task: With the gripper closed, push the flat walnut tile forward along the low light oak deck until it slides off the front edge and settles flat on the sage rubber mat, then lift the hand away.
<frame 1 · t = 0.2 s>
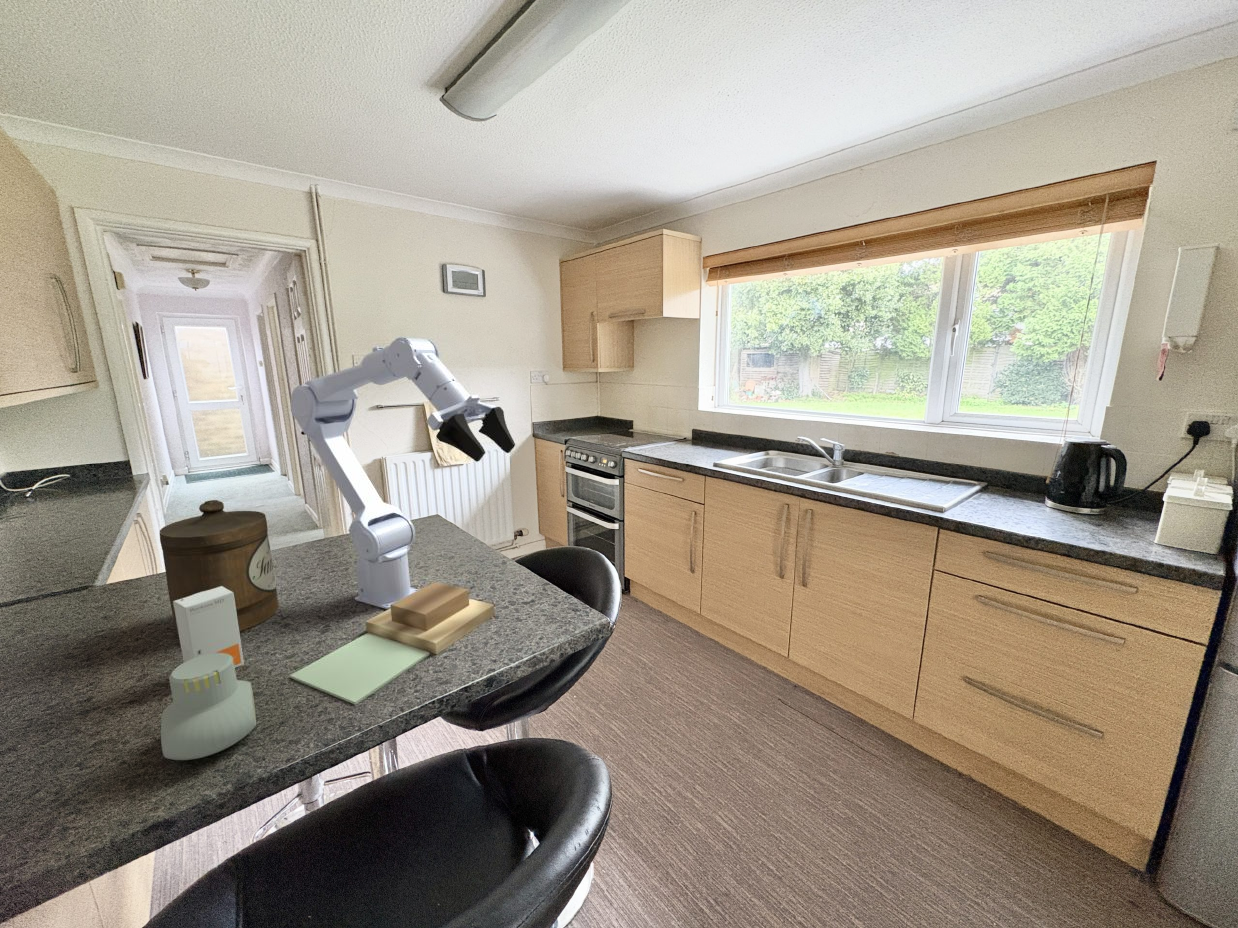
hand: (496, 452, 81), 31 cm above the worktop, tool tilted 45°, fingers open, 7 cm apart
skincare box: (216, 671, 75), on the worktop
oak deck: (432, 623, 88), on the worktop
walnut tile: (431, 612, 88), point 2 cm above the worktop, touching oak deck
sage mat: (362, 665, 76), on the worktop
air freshener: (215, 740, 61), on the worktop
wooden container: (230, 619, 90), on the worktop
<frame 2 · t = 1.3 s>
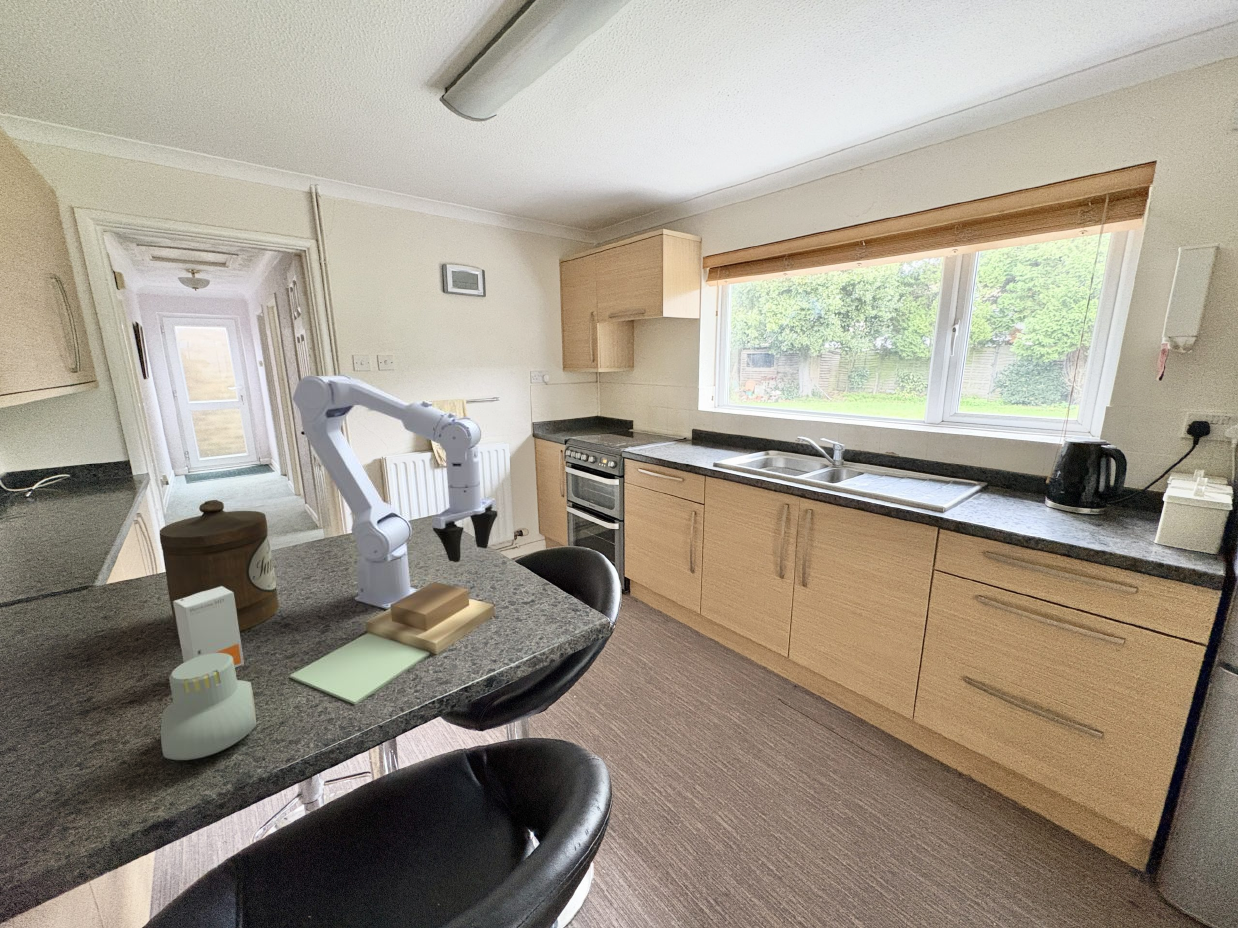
hand: (468, 553, 95), 9 cm above the worktop, tool pointing down, fingers open, 7 cm apart
nothing on the worktop moved.
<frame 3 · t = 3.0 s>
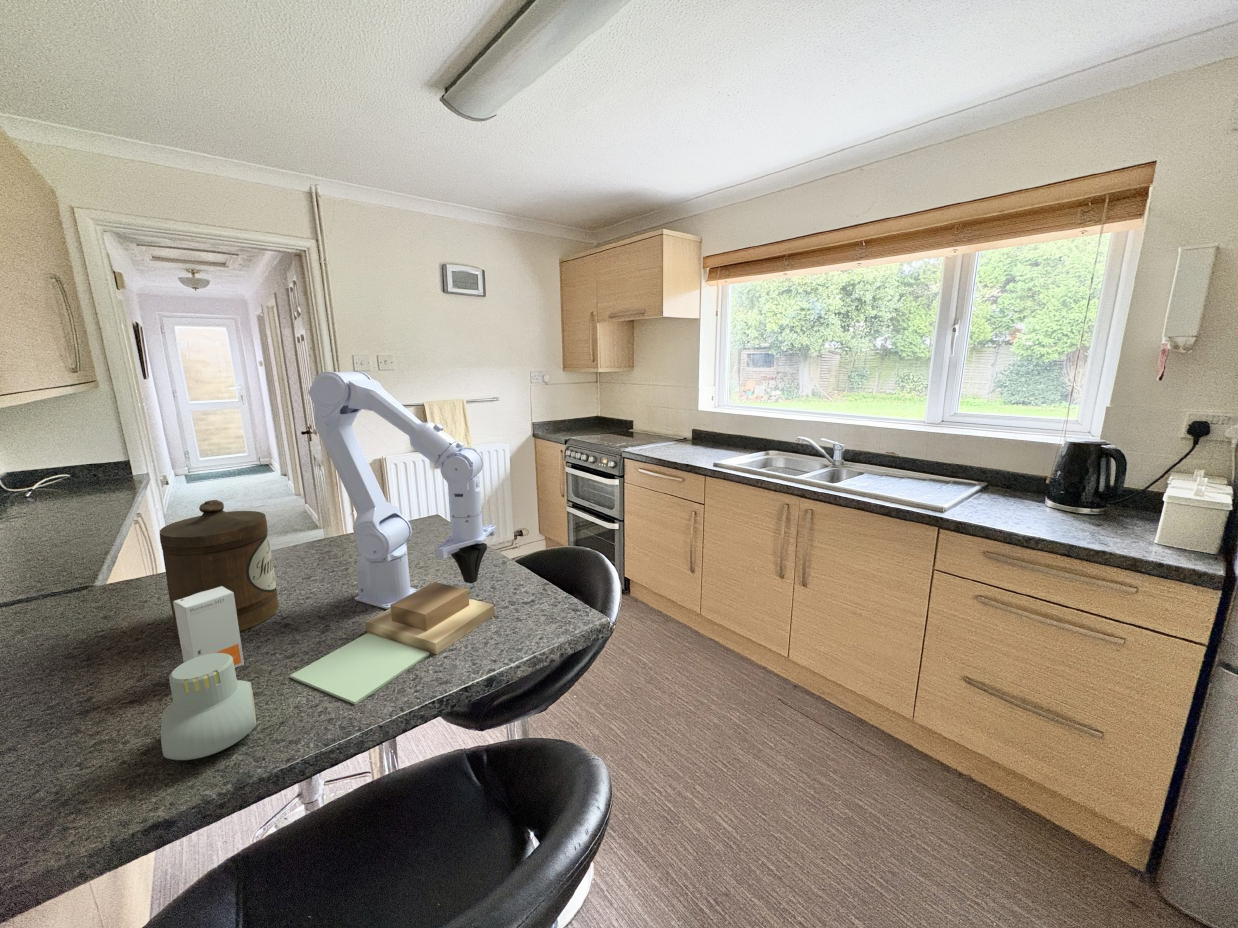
hand: (470, 581, 96), 4 cm above the worktop, tool pointing down, fingers closed
nothing on the worktop moved.
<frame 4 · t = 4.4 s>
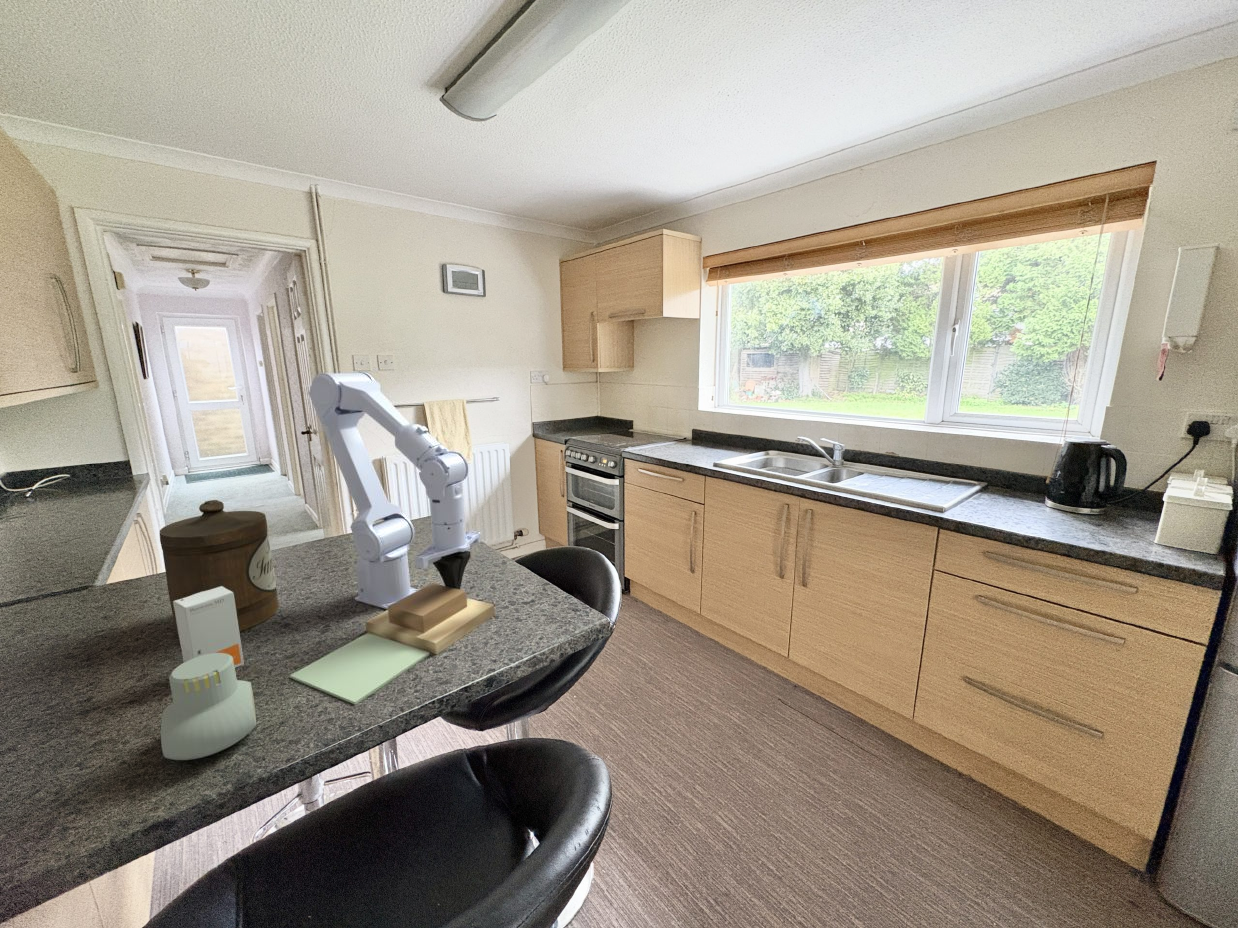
hand: (453, 590, 92), 4 cm above the worktop, tool pointing down, fingers closed
walnut tile: (429, 614, 87), point 2 cm above the worktop, touching gripper
everything else where it was.
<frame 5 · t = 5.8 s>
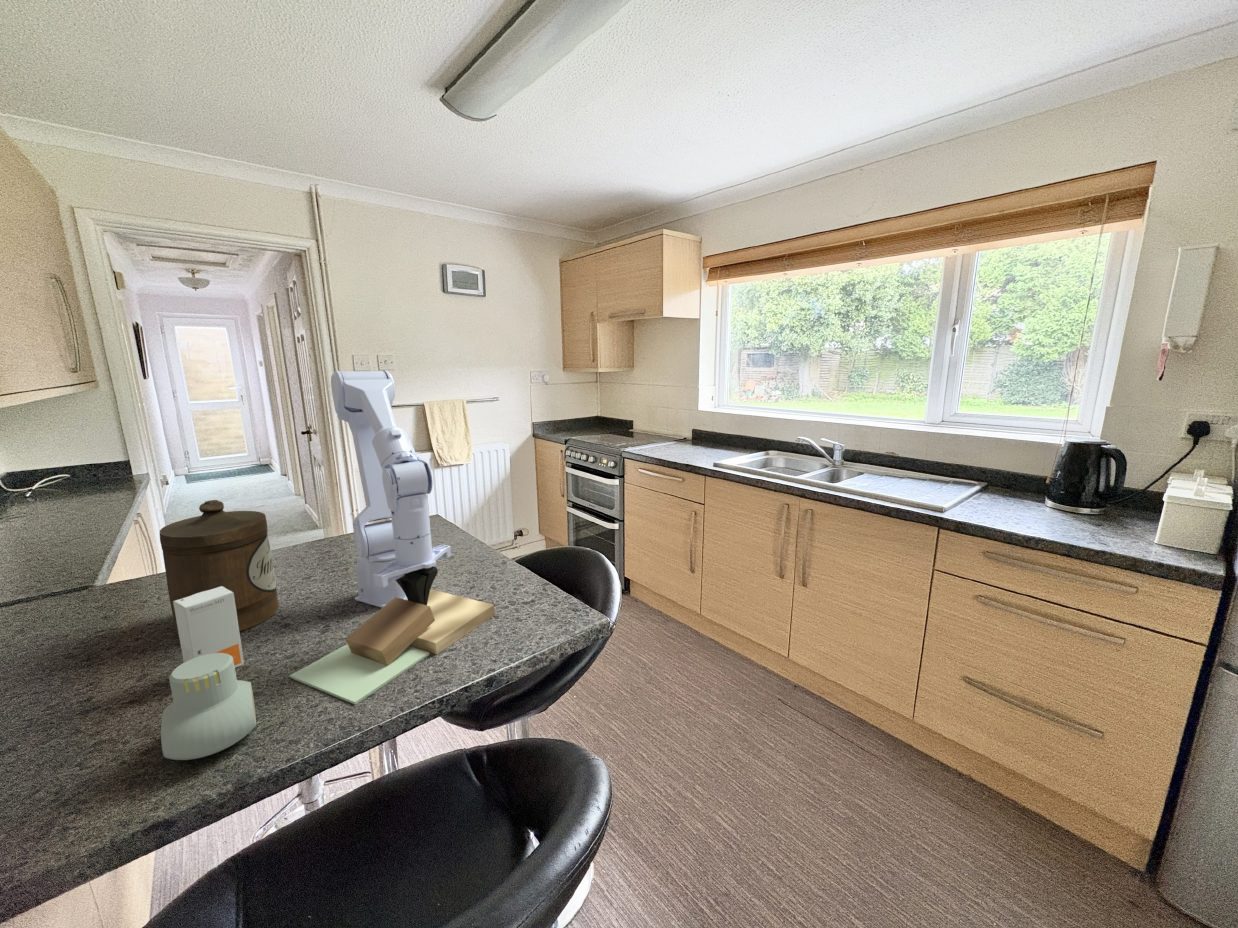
hand: (419, 609, 85), 4 cm above the worktop, tool pointing down, fingers closed
walnut tile: (394, 636, 80), point 2 cm above the worktop, tilted 15°, touching gripper, sage mat
everything else where it was.
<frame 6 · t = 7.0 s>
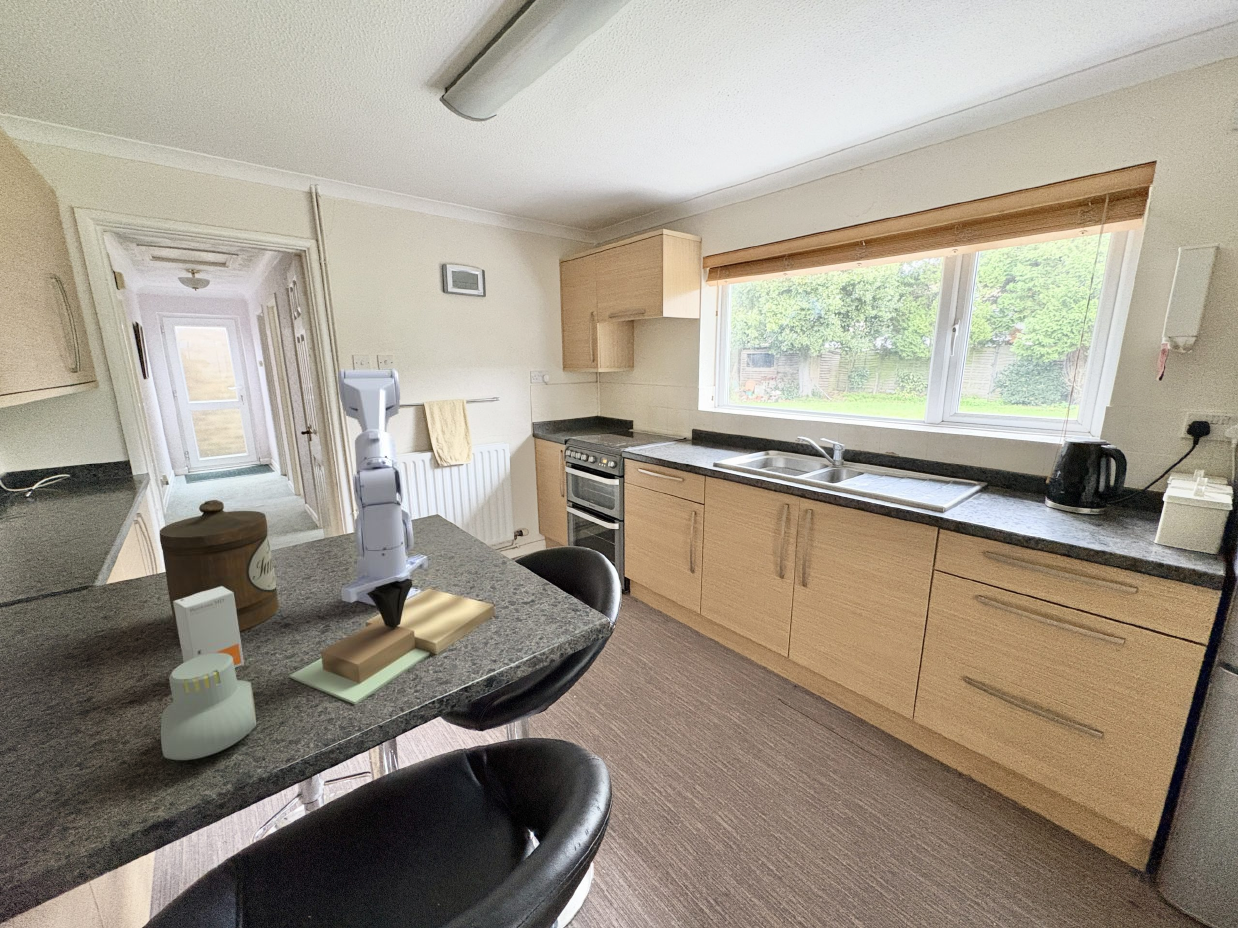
hand: (392, 624, 80), 4 cm above the worktop, tool pointing down, fingers closed
walnut tile: (371, 658, 77), resting on sage mat
everything else where it was.
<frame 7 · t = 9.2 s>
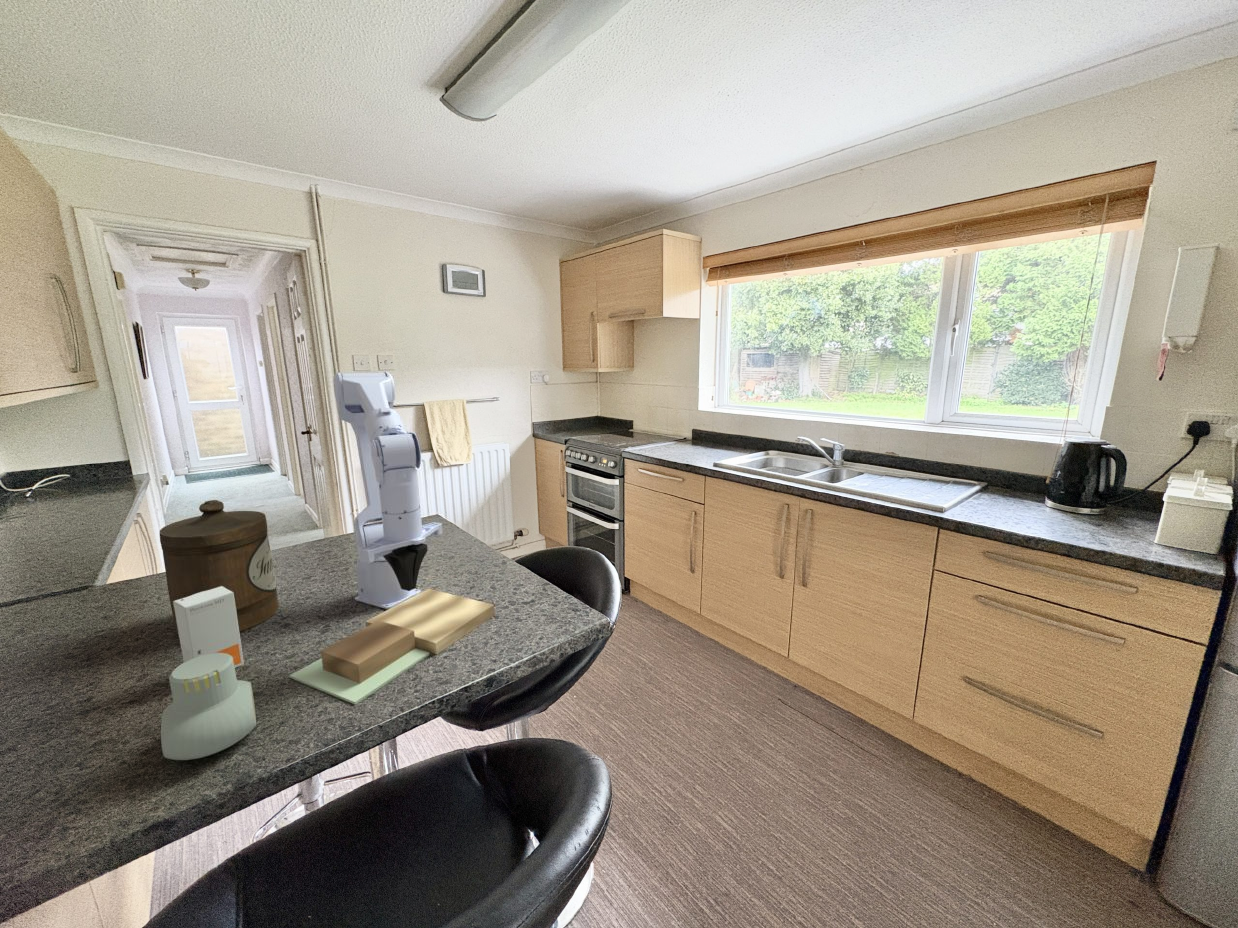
hand: (408, 588, 82), 9 cm above the worktop, tool pointing down, fingers closed
nothing on the worktop moved.
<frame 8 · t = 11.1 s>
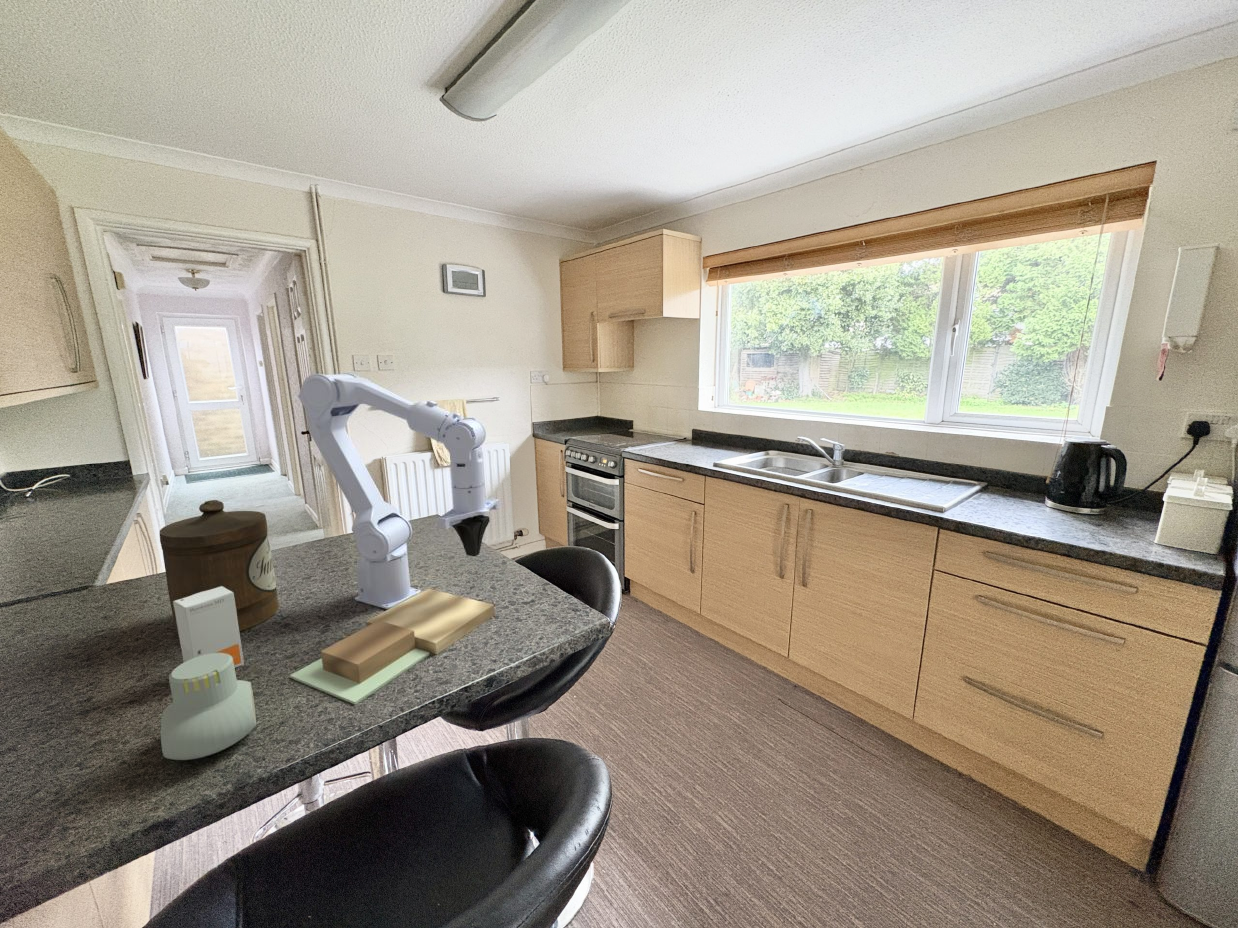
hand: (472, 554, 95), 9 cm above the worktop, tool pointing down, fingers closed
nothing on the worktop moved.
at the end: walnut tile inside the target area (2.0 cm from its centre), resting on sage mat; walnut tile tilted 0° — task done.
